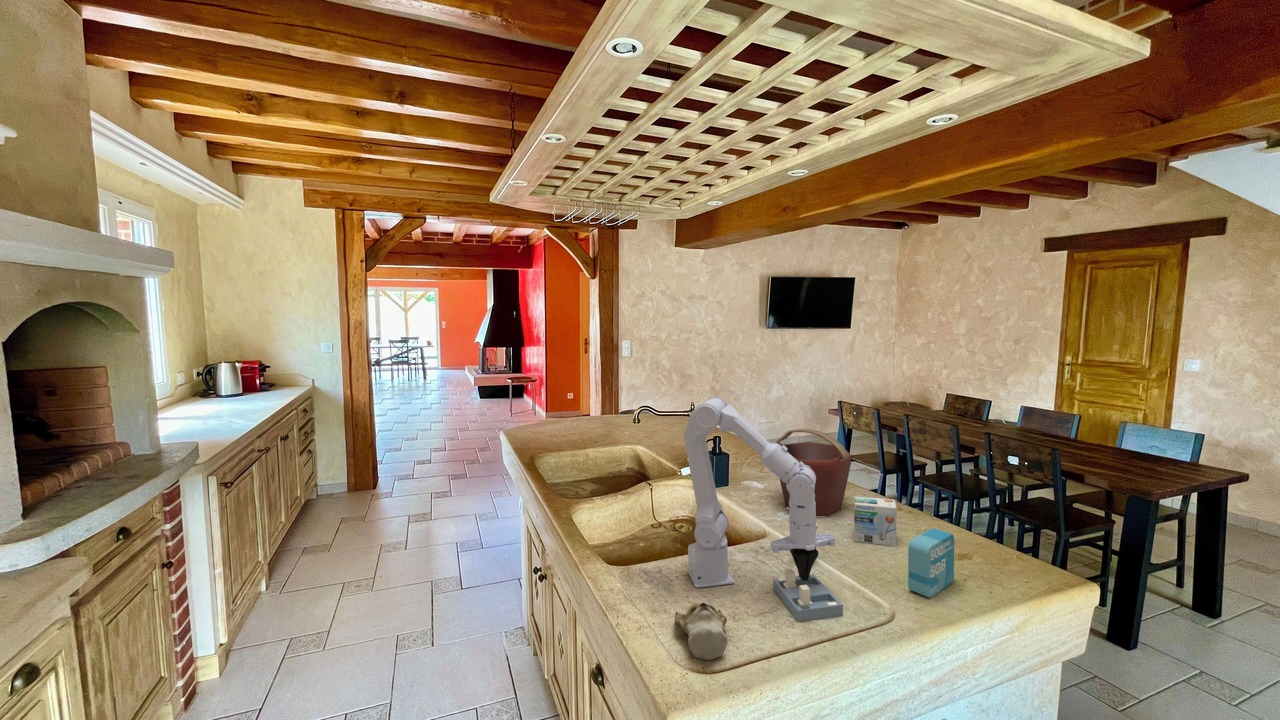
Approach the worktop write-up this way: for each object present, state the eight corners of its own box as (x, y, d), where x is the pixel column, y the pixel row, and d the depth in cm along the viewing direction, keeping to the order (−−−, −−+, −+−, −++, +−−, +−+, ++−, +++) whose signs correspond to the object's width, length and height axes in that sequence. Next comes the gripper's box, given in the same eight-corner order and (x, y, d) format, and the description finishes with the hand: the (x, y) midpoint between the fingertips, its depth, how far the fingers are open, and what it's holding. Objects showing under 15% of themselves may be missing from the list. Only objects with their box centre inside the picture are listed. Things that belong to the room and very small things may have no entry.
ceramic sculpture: (680, 624, 94) (671, 585, 109) (682, 670, 94) (673, 626, 109) (738, 620, 95) (721, 582, 110) (740, 666, 95) (723, 622, 110)
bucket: (762, 501, 175) (760, 428, 172) (812, 489, 184) (811, 419, 181) (814, 527, 153) (813, 444, 150) (868, 512, 162) (868, 433, 159)
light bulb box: (854, 541, 142) (853, 504, 141) (853, 531, 148) (853, 495, 147) (897, 547, 138) (897, 507, 137) (895, 536, 144) (895, 499, 143)
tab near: (801, 610, 110) (800, 590, 109) (797, 605, 112) (796, 585, 111) (812, 608, 110) (812, 589, 110) (808, 603, 112) (808, 584, 112)
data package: (928, 600, 113) (928, 547, 112) (907, 591, 117) (907, 540, 116) (954, 582, 120) (954, 532, 119) (934, 574, 124) (934, 526, 122)
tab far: (786, 592, 117) (786, 574, 116) (783, 588, 119) (782, 569, 118) (797, 591, 117) (797, 572, 117) (793, 586, 119) (793, 568, 118)
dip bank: (797, 621, 108) (797, 610, 107) (773, 588, 120) (773, 578, 120) (842, 615, 109) (842, 604, 109) (813, 583, 122) (813, 573, 122)
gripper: (779, 531, 112) (780, 591, 113) (841, 524, 114) (842, 583, 115) (766, 518, 119) (768, 575, 120) (826, 512, 121) (826, 568, 122)
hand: (803, 578), depth 118 cm, fingers closed
